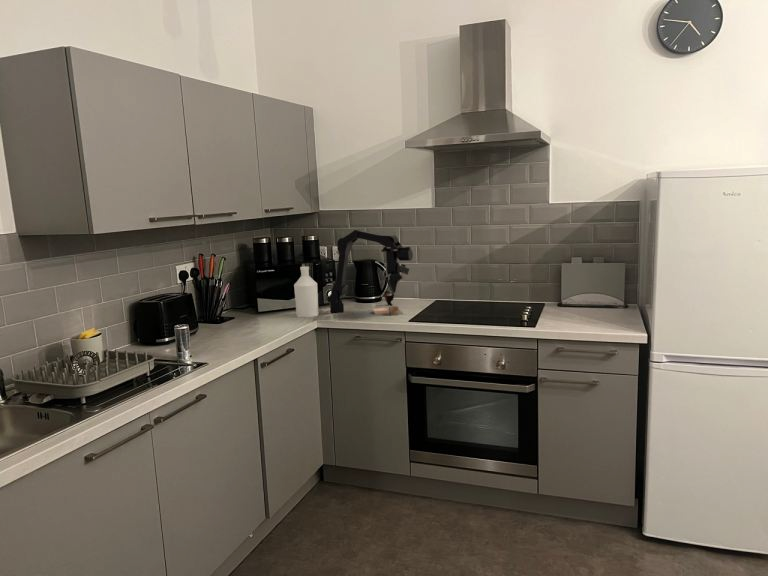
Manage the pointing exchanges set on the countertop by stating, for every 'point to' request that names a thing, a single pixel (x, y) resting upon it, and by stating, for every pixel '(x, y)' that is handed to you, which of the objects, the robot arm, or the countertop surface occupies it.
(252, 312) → the countertop surface
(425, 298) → the countertop surface
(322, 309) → the countertop surface
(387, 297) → the figurine
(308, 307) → the bottle
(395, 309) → the cube
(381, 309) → the tile
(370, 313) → the mat
